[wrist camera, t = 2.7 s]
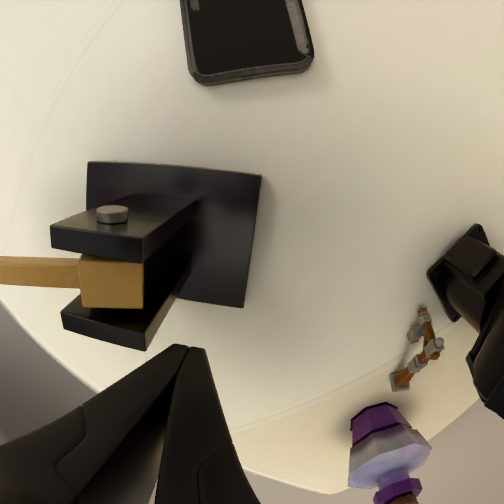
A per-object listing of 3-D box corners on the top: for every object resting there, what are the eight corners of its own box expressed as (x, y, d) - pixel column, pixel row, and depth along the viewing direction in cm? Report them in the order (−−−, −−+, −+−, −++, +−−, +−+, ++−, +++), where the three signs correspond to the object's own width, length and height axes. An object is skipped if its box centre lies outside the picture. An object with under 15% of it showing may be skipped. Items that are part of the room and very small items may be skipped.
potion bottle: (388, 440, 27) (412, 519, 15) (323, 441, 27) (336, 534, 15) (424, 391, 24) (467, 477, 13) (354, 390, 24) (386, 499, 12)
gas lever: (-45, 280, 10) (-70, 305, 8) (-54, 229, 9) (-83, 247, 6) (144, 290, 15) (143, 324, 12) (144, 230, 14) (141, 254, 11)
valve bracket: (96, 275, 21) (21, 341, 12) (95, 160, 18) (-4, 175, 9) (244, 300, 21) (230, 400, 12) (262, 174, 18) (259, 193, 9)
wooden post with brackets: (436, 299, 20) (453, 348, 16) (400, 350, 25) (409, 391, 22) (418, 300, 20) (435, 351, 16) (384, 352, 25) (392, 394, 22)
